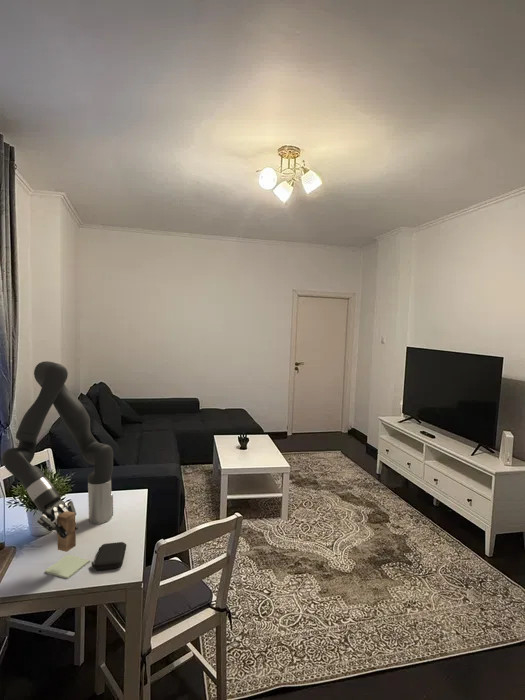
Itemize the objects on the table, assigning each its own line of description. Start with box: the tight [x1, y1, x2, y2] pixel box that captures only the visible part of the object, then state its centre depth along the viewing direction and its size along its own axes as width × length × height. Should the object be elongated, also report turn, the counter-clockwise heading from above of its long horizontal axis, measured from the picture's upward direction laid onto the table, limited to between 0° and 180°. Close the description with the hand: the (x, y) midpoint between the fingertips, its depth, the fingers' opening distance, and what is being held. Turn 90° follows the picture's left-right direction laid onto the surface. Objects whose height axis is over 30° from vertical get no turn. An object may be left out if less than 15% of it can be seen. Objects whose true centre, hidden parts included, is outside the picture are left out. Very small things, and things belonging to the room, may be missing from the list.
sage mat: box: [44, 554, 91, 580], centre depth 140 cm, size 10×10×1 cm
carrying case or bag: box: [91, 541, 127, 572], centre depth 144 cm, size 11×3×15 cm
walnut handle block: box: [56, 511, 77, 553], centre depth 139 cm, size 4×4×12 cm
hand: (71, 533), depth 138 cm, fingers closed on walnut handle block, 4 cm apart
